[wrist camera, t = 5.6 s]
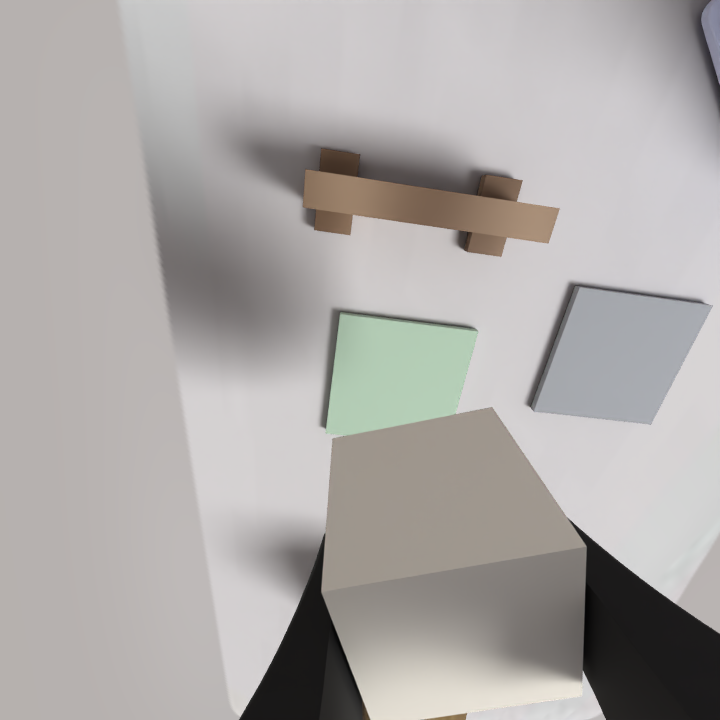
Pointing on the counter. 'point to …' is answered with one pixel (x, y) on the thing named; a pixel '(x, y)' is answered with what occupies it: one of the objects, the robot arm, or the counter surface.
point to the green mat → (395, 372)
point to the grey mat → (617, 355)
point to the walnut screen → (424, 205)
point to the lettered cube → (451, 571)
